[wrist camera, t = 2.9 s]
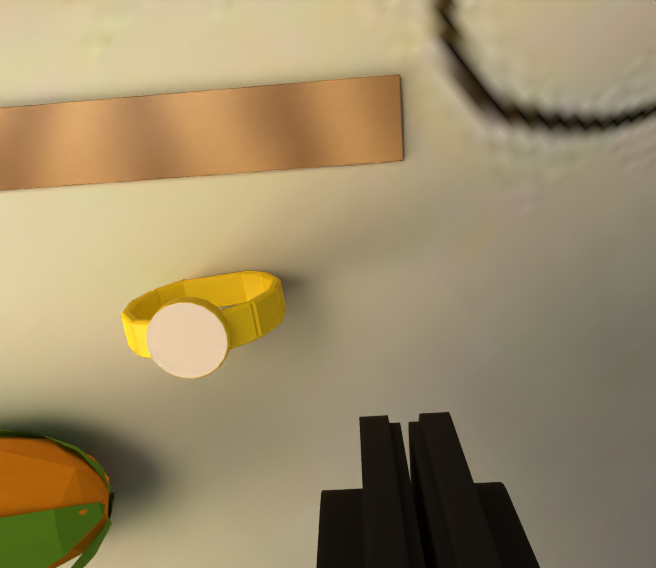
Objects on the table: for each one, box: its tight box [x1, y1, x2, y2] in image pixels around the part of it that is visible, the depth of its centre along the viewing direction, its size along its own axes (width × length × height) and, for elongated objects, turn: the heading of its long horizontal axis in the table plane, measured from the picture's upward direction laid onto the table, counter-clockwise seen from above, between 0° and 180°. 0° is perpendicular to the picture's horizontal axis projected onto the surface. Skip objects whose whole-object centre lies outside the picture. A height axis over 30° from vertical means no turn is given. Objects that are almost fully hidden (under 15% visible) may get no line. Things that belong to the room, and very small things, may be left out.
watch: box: [121, 271, 286, 378], centre depth 22 cm, size 6×3×6 cm, turn 99°
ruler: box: [0, 74, 403, 190], centre depth 23 cm, size 30×3×1 cm, turn 94°
